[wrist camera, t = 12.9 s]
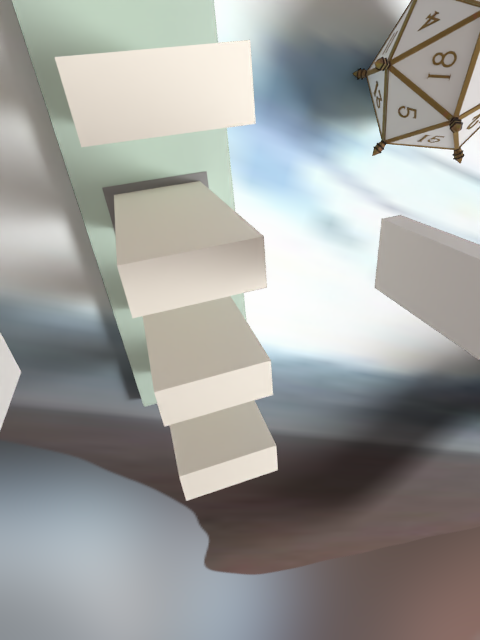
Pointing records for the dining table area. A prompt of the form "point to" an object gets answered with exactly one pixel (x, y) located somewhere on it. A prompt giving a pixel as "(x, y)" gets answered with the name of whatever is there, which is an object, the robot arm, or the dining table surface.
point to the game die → (429, 77)
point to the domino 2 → (183, 248)
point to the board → (130, 156)
